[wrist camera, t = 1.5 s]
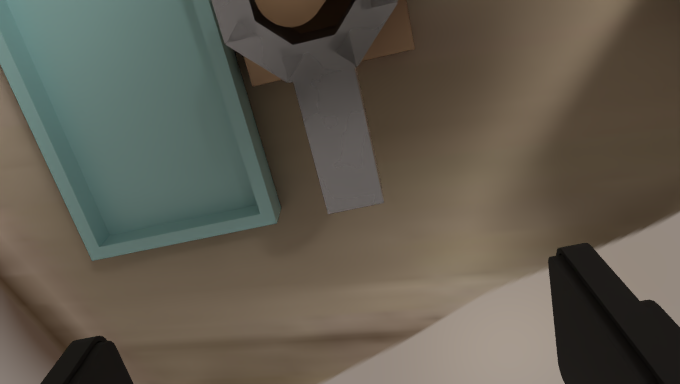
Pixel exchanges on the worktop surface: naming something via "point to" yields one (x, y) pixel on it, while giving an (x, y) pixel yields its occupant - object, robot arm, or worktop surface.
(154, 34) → the tray
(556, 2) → the worktop surface
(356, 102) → the wrench
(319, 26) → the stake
